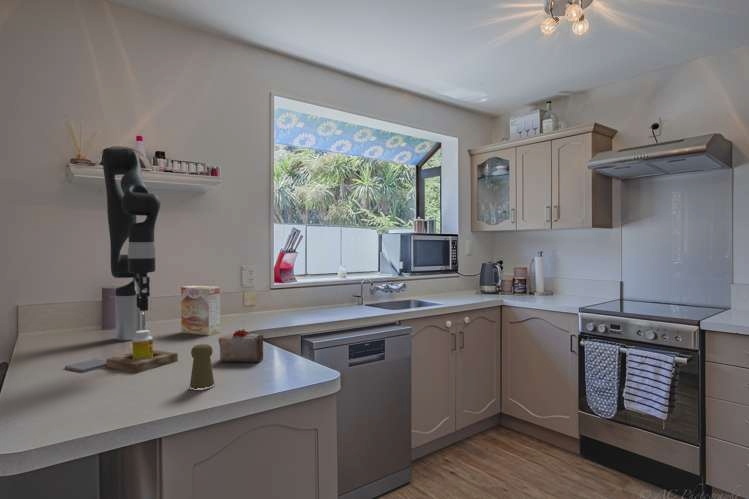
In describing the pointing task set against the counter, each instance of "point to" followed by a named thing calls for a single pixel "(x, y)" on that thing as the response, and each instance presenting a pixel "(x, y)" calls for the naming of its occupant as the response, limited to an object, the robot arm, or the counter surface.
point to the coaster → (87, 365)
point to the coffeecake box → (200, 310)
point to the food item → (241, 347)
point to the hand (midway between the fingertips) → (142, 309)
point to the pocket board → (141, 361)
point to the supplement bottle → (142, 345)
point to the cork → (201, 367)
